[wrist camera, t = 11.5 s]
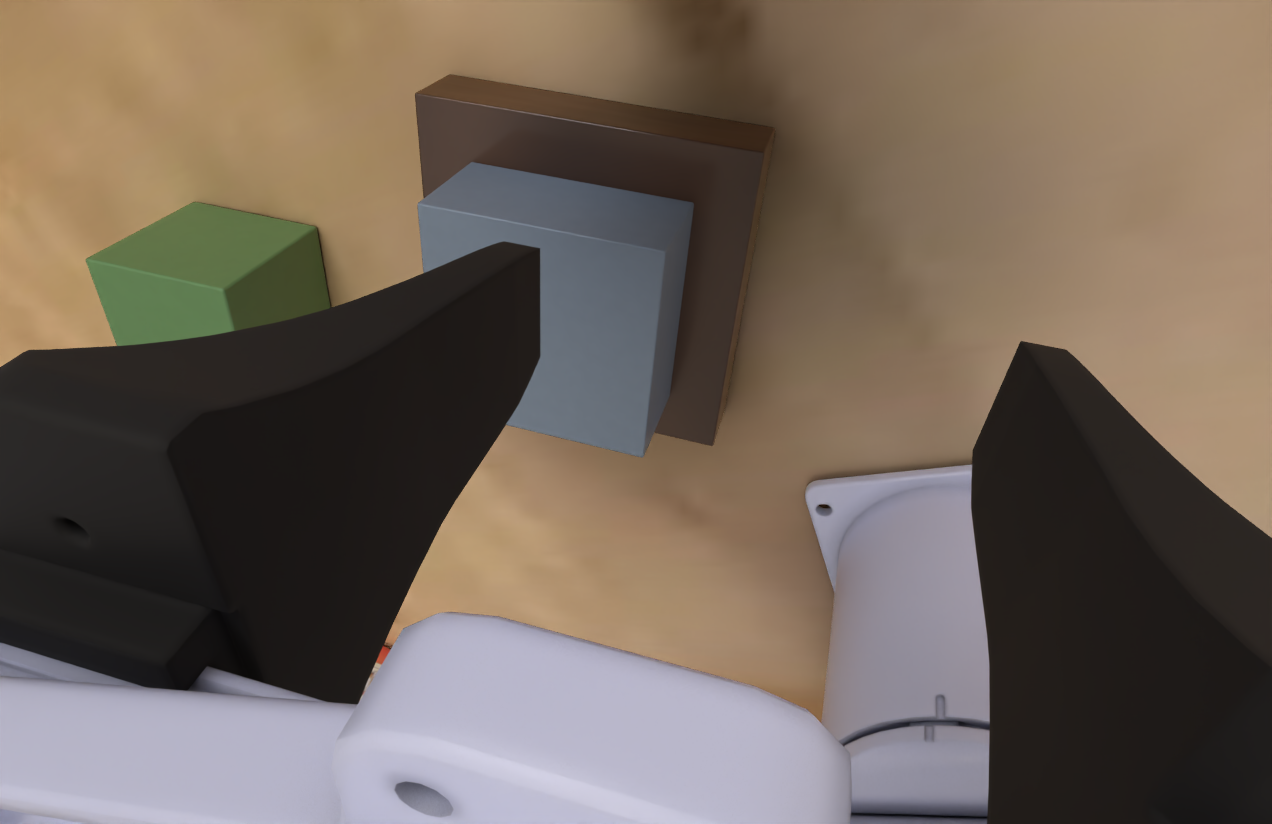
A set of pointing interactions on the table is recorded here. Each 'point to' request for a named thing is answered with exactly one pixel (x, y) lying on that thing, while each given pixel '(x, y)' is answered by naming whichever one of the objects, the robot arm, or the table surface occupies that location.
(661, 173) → the walnut slab
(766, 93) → the table surface
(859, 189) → the table surface
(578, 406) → the blue-grey block
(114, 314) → the green block
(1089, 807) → the robot arm
